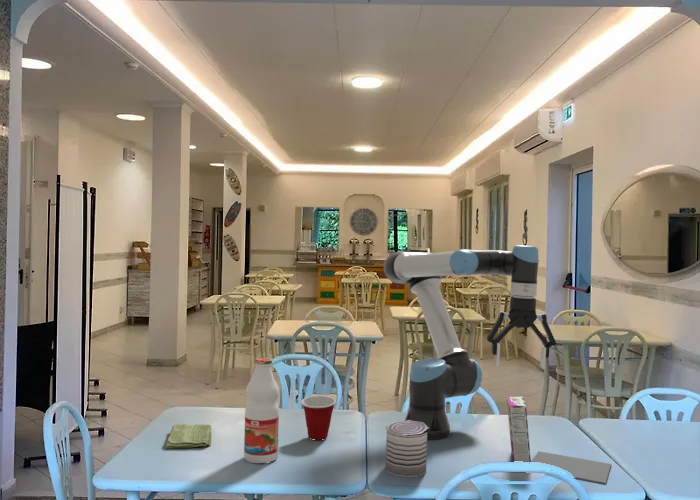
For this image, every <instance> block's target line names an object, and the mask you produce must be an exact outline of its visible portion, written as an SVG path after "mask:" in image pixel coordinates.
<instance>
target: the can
mask: <svg viewBox="0 0 700 500" xmlns="http://www.w3.org/2000/svg"><path fill="white" fill-rule="evenodd" d="M384 428H385V429H386V443H385V444H386V445H385V451H386V452H385V472H386V471H387V472H386V473H388V472H389V474H390V473H391V474H390V475H392V474H393V475H392V476H394V475H395V476H396V477H400V476H401V478H407V477H408V478H416V477H418V478H419V477H422V476H423V475H424V474H427V453H428V451H427V450H428V439H427V429H428V428H429V427H428V426H427V425H426V424H425V423H424V422H418V421H412V420H405V419H404V420H399V421H397V420H396V421H392V422H390V423H389V424H388V425H386V426H384Z"/></svg>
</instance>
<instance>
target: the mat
mask: <svg viewBox="0 0 700 500" xmlns="http://www.w3.org/2000/svg"><path fill="white" fill-rule="evenodd" d="M531 462H541V463H546V464H550V465H554V466H557V467H560V468H562V469H564V470H567V471H568V472H570V473H571V474H572V475H573V476H574V477H576V478H577V479H576V480H582V481H587V482H590V483H591V482H592V483H597V484H600V485H601V484H602V485H606V484H607V480H608V477H609V473H610V471H611V467H612V463H609V462H608V463H606V462H602V461H596V460H590V459H585V458H579V457H574V456H568V455H562V454H556V453H551V452H546V451H540V450H538V451H537V452H536V454H535V455H534V457H533V459H531Z"/></svg>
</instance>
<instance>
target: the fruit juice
mask: <svg viewBox="0 0 700 500" xmlns="http://www.w3.org/2000/svg"><path fill="white" fill-rule="evenodd" d="M253 364H254V367H255V368H254V371H253V374H252V377H251V379H250V381H249V382H248V384H247V386H246V388H245V389H246V390H245V395H246V398H247V402H246V405H245V410H244V438H243V439H244V440H243V441H244V443H243V445H244V447H243V449H244V450H243V458H244V460H245V461H246V462H248V463H250V464H254V463H265V464H268V463H267V462H270V463H272V462H271V461H273V462H275V461H276V460H277V458H278V455H279V423H280V422H279V418H280V409H279V403H278V397H279V393H280V389H279V385H278V383H277V381H276V379H275V377H274V375H273V371H272V370H273V369H272V365H273V360H272V358H271V357H256V358H255V359H254V361H253ZM274 460H275V461H274Z"/></svg>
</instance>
